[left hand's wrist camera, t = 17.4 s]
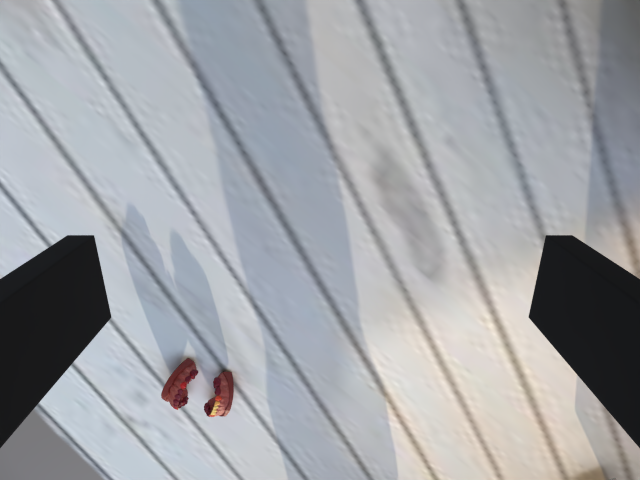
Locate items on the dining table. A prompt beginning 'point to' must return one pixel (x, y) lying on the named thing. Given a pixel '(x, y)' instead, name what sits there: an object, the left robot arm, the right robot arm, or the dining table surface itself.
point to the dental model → (178, 392)
